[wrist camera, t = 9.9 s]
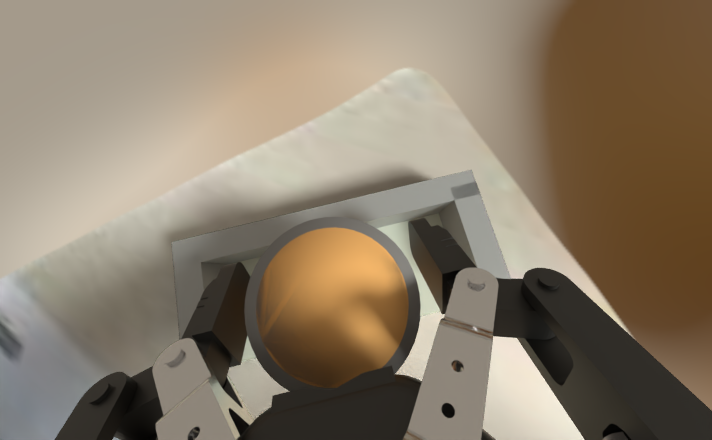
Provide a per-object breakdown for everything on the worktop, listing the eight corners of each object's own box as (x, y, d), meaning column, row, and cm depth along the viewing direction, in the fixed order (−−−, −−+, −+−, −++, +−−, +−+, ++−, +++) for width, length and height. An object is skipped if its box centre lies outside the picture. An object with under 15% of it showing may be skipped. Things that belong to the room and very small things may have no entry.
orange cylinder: (313, 344, 17) (258, 423, 8) (297, 255, 18) (233, 237, 9) (401, 323, 17) (443, 376, 8) (379, 236, 18) (394, 200, 9)
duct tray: (220, 366, 17) (184, 389, 13) (207, 247, 18) (171, 241, 15) (489, 298, 17) (520, 304, 14) (452, 188, 19) (471, 169, 15)
